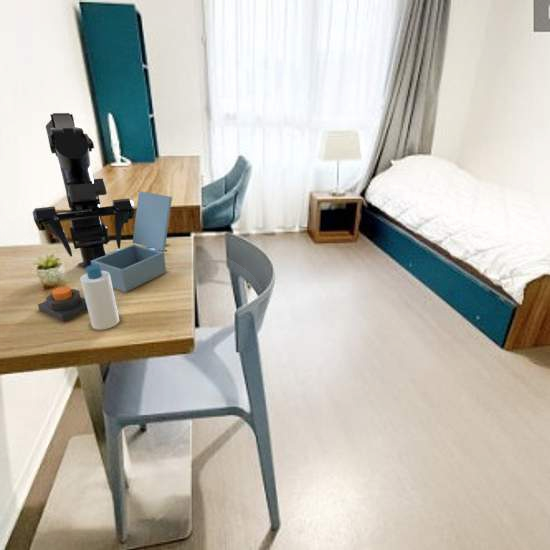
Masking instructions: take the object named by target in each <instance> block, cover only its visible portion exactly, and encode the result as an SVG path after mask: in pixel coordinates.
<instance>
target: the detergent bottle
mask: <svg viewBox="0 0 550 550" xmlns="http://www.w3.org/2000/svg"><path fill="white" fill-rule="evenodd" d="M85 270H86V273H84V274H83V275H81V276H80V278H79V279H80V284H81V288H82V292H83V298H84V299H85V301H86V305H87V309H88V310H87V313H88V317H89V320H90V324H91V327H92V328H93V329H95V330H107V329H110V328H113V327H115V326H117V324H119V322H120V317H119V311H118V306H117V302H116V297H115V292H114V288H113V287H112V282H111V277H110V273H109V272H107V271H101V267H100V265H97V264H95V265H90V266H87V267H86V268H85Z"/></svg>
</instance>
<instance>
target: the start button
mask: <svg viewBox="0 0 550 550" xmlns="http://www.w3.org/2000/svg"><path fill="white" fill-rule="evenodd" d="M71 289H72V288H71V287H70V286H59V287H57V288H54V289H53V290H51V291H52V292H51V294H53V297H54V300H55V301H62V300H66V299H68V298H71V297H72V292H71Z"/></svg>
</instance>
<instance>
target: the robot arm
mask: <svg viewBox="0 0 550 550" xmlns="http://www.w3.org/2000/svg"><path fill="white" fill-rule="evenodd" d="M49 115H50V120H49V122H47V124H46V125H45V130H46V134H47V139H48V144H49V149H50V152H51V154H55V156H56V157H57V160H58V164H59V167H60V172H61V176H62V180H63V185H64V189H65V194H66V200H67V203H68V204H67V205H68V208H69V210H64V211H63V210H62V211H57V210H56V206H46V207H45V206H43V207H36V208H34V209H33V211H32V216H33V222H34V223H35V225H36V227H37V229H38V231H42V232H43V231H46V233H47V234H53V235H54V236H55V237H56V239H57V240H58V241H59V242H60V244H61V245H62V246H63V248H64V249H65V251H66V252H67V254H68V255H69V257H71V258H72V257H73V253H72V248H71V246H70V244H69V241H68V238H67V236H66V233H65V231H64V228H63V226H62V222H68V221H70V223H71V226H69V227H68V228H69V231H70V236H71V240H72V245H73V247H74V250H77V249H79V251H80V255H81V259H82V262H79V263H78V264H77V266H78V267H81V268H84V269H86V267H87V266H90V265H92V264H91V261H92V260H94V259H97V258H100V257H102V256H105V255H107V254H106V250H105V246H104V245H108V244H109V243H110V242H111V241H110V240H111V239H110V236H109V235H110V234H109V228H108V227H107V226H106V225H105V223H104V222H102V221H101V217H108V216H113V217H114V218H113V219H114V220H113V221H114V232H115V233H114V234H115V241H116V247H117V249H121V243H122V233H123V228H124V225H125V224H128V223H129V220H133V219H134V218H135V211H136V208H135V205H134V201H133V200H132V199H131V198H117V199H112V205H109V206H100V205H101V200H100V196H107V193H108V192H107V188H106V185H105V184H106V183H105V180H104V178H103V177H102V178H94V175H93V173H92V168H91V157H90V152H93V149H95V145H94V141H93V140H92V139H91V138H90V136H89V135H88V133H84V130H83V128H82V126H81V124H80V123H79V122H77V121H76V120H75V119H74V115H73V113H69V112H53V113H51V114H49Z"/></svg>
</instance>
